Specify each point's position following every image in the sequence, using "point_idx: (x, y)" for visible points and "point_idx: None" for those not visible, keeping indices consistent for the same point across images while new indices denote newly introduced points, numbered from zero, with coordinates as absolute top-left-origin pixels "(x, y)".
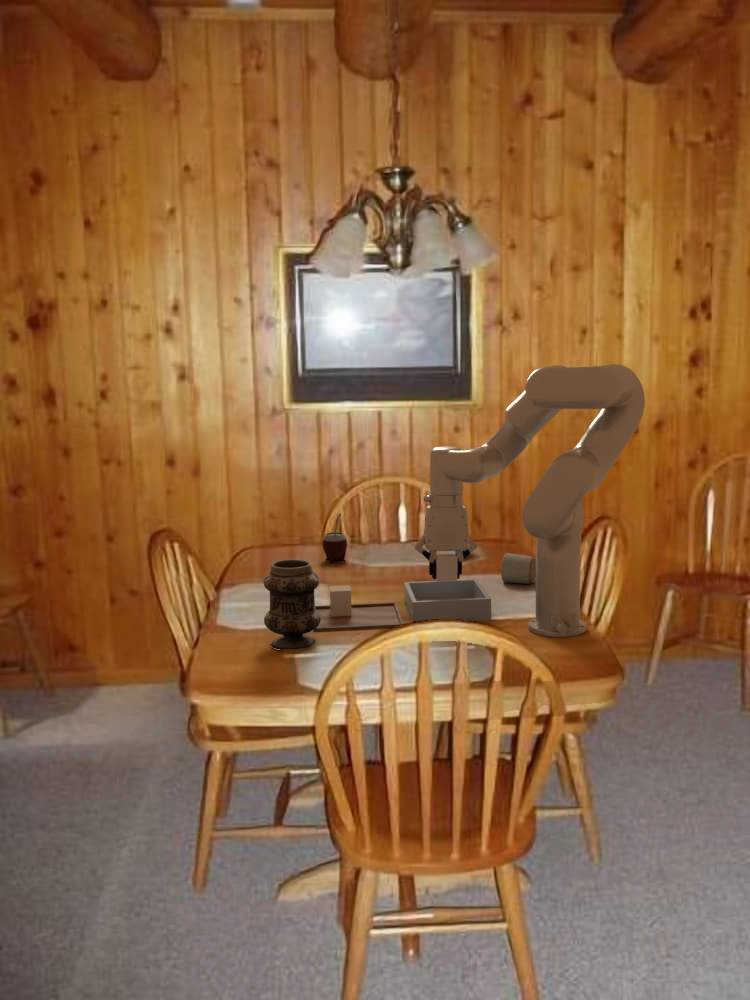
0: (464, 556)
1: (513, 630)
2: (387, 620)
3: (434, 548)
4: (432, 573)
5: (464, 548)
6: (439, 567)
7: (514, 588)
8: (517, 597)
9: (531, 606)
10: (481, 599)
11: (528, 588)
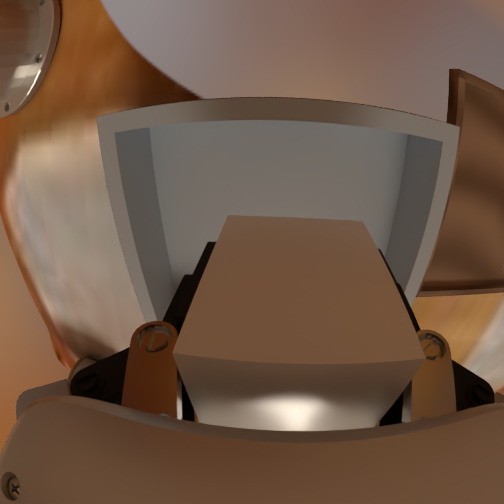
0: (124, 362)
1: (96, 12)
2: (479, 152)
3: (493, 428)
4: None
5: (54, 401)
6: (370, 277)
7: (108, 349)
8: (89, 301)
9: (52, 232)
10: (134, 110)
11: (85, 341)
